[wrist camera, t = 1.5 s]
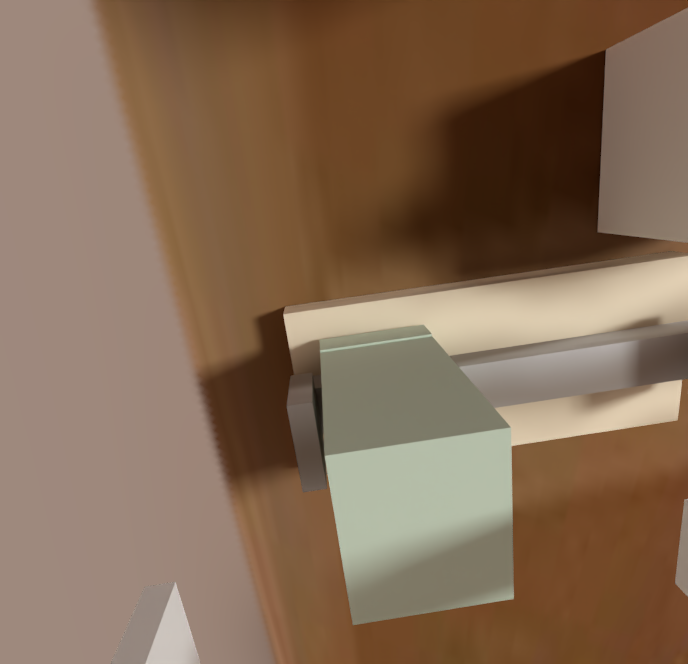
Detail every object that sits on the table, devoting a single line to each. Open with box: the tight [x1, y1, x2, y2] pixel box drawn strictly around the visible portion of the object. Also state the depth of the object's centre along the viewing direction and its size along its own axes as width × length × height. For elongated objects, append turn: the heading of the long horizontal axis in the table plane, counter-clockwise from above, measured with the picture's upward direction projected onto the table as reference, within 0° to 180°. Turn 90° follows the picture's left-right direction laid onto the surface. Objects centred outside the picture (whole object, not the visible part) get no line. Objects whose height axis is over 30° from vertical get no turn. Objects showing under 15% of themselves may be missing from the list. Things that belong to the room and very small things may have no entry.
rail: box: [283, 251, 688, 492], centre depth 20 cm, size 9×20×6 cm, turn 98°
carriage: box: [319, 325, 514, 625], centre depth 17 cm, size 6×5×10 cm
